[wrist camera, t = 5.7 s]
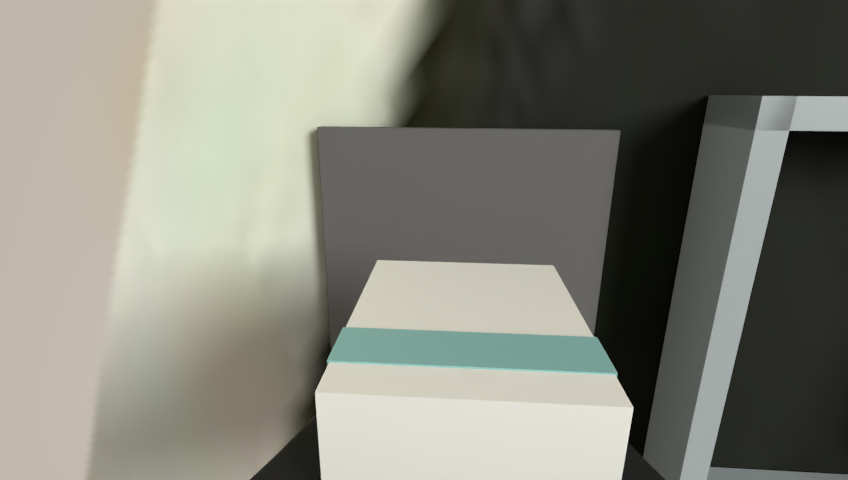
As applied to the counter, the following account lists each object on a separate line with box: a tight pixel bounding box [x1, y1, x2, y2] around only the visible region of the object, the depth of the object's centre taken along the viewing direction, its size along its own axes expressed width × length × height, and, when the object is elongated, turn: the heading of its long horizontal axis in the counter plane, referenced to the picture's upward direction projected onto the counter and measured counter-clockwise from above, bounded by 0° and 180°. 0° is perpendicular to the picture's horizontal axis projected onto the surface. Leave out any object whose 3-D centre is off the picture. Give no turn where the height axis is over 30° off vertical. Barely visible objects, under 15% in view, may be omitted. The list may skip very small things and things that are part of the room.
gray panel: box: [317, 127, 620, 351], centre depth 16 cm, size 12×9×1 cm
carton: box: [315, 260, 634, 480], centre depth 9 cm, size 4×6×5 cm, turn 179°
